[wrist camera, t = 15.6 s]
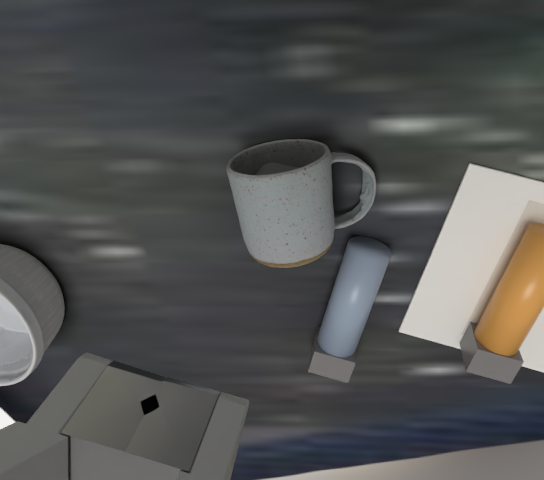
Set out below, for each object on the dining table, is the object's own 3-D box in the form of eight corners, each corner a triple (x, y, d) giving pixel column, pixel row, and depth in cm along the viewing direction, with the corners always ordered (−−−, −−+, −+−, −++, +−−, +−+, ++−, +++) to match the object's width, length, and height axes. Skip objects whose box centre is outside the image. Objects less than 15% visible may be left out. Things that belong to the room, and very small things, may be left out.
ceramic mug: (257, 233, 42) (237, 279, 36) (238, 144, 39) (213, 176, 33) (379, 223, 40) (381, 270, 34) (371, 127, 37) (372, 159, 30)
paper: (469, 162, 36) (469, 164, 36) (663, 212, 35) (666, 214, 35) (398, 329, 44) (398, 331, 44) (556, 373, 43) (557, 376, 43)
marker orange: (522, 218, 37) (535, 240, 34) (570, 230, 37) (588, 254, 34) (459, 342, 43) (465, 371, 40) (500, 354, 43) (510, 383, 40)
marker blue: (348, 231, 41) (346, 253, 38) (391, 243, 41) (392, 265, 37) (312, 345, 47) (307, 371, 44) (349, 355, 47) (347, 383, 43)
